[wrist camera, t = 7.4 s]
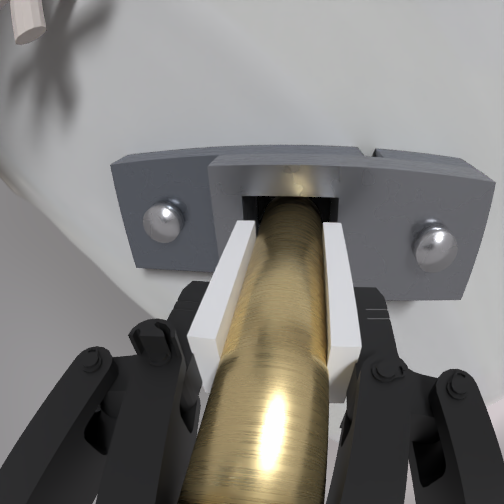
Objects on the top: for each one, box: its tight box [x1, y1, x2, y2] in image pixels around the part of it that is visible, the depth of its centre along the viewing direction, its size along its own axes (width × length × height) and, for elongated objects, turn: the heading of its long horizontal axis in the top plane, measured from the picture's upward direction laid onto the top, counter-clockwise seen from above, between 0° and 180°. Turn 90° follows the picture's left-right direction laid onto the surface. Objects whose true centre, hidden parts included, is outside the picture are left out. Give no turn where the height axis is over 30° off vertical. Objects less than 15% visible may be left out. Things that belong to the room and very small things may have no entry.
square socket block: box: [110, 145, 496, 300], centre depth 15 cm, size 7×20×5 cm, turn 93°
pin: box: [177, 196, 329, 504], centre depth 9 cm, size 4×4×15 cm
